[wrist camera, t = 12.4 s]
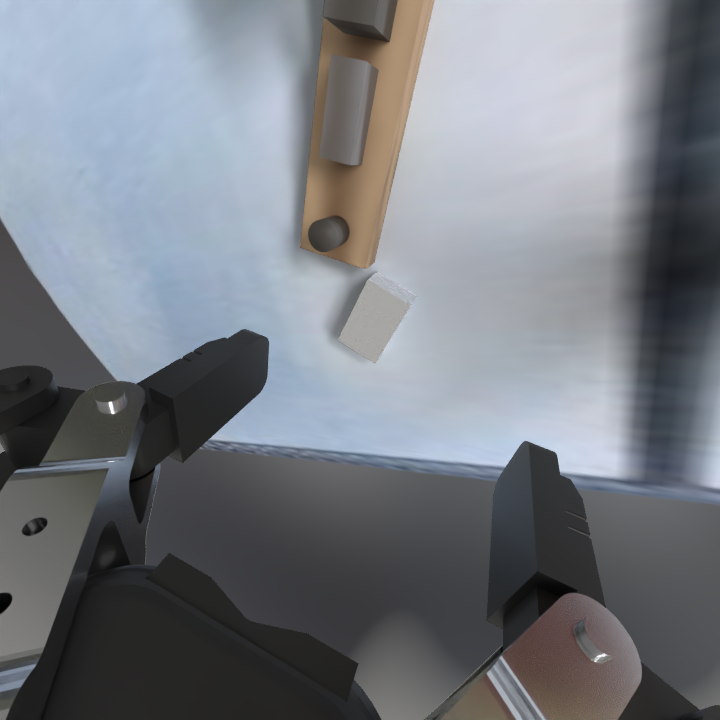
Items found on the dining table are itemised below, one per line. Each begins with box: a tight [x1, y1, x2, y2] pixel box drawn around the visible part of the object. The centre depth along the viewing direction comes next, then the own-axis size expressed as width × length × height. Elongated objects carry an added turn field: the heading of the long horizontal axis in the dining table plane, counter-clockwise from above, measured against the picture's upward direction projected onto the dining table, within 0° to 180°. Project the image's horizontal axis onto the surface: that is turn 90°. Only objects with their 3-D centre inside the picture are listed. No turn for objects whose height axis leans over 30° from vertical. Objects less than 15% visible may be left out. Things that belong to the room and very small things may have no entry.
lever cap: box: [338, 272, 417, 363], centre depth 41 cm, size 6×9×4 cm, turn 154°
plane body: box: [300, 0, 434, 269], centre depth 31 cm, size 8×22×7 cm, turn 168°
